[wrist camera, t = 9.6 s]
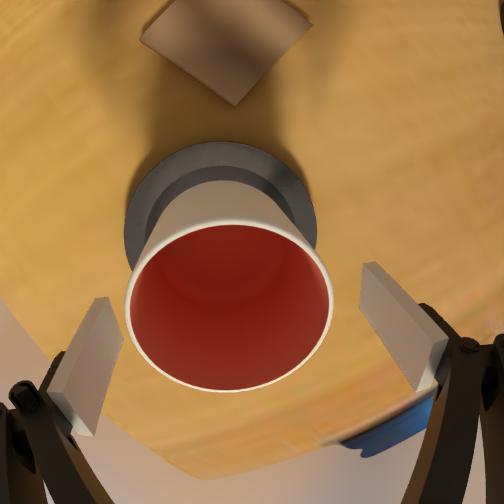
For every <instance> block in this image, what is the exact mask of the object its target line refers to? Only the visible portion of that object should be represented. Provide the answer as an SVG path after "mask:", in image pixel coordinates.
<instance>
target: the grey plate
mask: <svg viewBox="0 0 504 504" xmlns="http://www.w3.org/2000/svg"><path fill="white" fill-rule="evenodd" d="M220 180H225V181H235V182H240V183H244V184H247V185H250V186H252V187H254V188H256V189H258V190H260V191H262V192H263V193H265V194H266V195H267V196H269V197H270V198H271V199H272V200H273V201H274V202H275V203H276V204H277V205H278V206H279V208H280V209H281V210H282V211H283V212H284V214H285V215H286V216H287V217H288V218H289V220H290V221H291V222H292V223H293V224H294V226H295V227H296V228H297V229H298V230H299V232H300V233H301V234H302V235H303V237H304V238H305V239H306V240H307V241H308V243H309V244H310V245H311V246H312V248H313V249H314V250H315V246H316V239H317V225H316V217H315V212H314V208H313V205H312V202H311V200H310V197H309V195H308V193H307V191H306V189H305V187H304V186H303V184H302V183H301V181H300V180H299V179H298V177H297V176H296V175H295V174H294V173H293V172H292V171H291V170H290V169H289V168H288V167H287V166H286V165H285V164H284V163H282V162H281V161H280V160H278V159H277V158H276V157H274V156H272V155H270V154H268V153H267V152H265V151H263V150H260V149H258V148H255V147H252V146H250V145H246V144H242V143H237V142H229V141H213V142H205V143H200V144H195V145H192V146H190V147H187V148H184V149H182V150H180V151H178V152H176V153H174V154H172V155H170V156H169V157H168V158H166V159H165V160H163V161H162V162H161V163H159V164H158V165H157V166H156V167H155V168H154V169H152V170H151V171H150V172H149V173H148V174H147V176H146V177H145V178H144V179H143V181H142V182H141V183H140V184H139V186H138V188H137V190H136V191H135V193H134V195H133V197H132V199H131V202H130V204H129V207H128V210H127V214H126V218H125V226H124V245H125V250H126V256H127V259H128V262H129V265H130V268H131V270H132V272H133V270H134V268H135V266H136V264H137V262H138V259H139V257H140V255H141V253H142V251H143V249H144V247H145V245H146V243H147V241H148V239H149V237H150V235H151V233H152V231H153V229H154V227H155V225H156V223H157V221H158V220H159V218H160V216H161V214H162V213H163V211H164V210H165V208H166V207H167V206H168V205H169V204H170V203H171V202H172V201H173V200H174V199H175V198H176V197H177V196H178V195H180V194H181V193H183V192H184V191H186V190H188V189H189V188H191V187H194V186H196V185H199V184H202V183H206V182H210V181H220Z"/></svg>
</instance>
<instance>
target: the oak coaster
mask: <svg viewBox="0 0 504 504" xmlns="http://www.w3.org/2000/svg"><path fill="white" fill-rule="evenodd" d="M312 26H313V24H312V23H310V22H309V21H308V20H307V19H306V18H304V17H303V16H302V15H301V14H299V13H298V12H297V11H295V10H294V9H293V8H292V7H290V6H289V5H288V4H286V3H285V2H284V1H282V0H175V1H174V2H173V3H172V4H171V5H170V6H169V7H168V8H167V9H166V10H165V11H164V12H163V13H162V14H161V15H160V16H159V17H158V18H157V19H156V20H155V22H154V23H153V24H152V25H151V26H150V27H149V28H148V29H147V30H146V31H145V32H144V34H143V35H142V36H141V37H140V38H139V40H140V41H141V43H143V44H144V45H146V46H147V47H149V48H151V49H152V50H154V51H155V52H157V53H158V54H160V55H161V56H163V57H164V58H166V59H167V60H169V61H170V62H172V63H173V64H175V65H176V66H178V67H179V68H181V69H182V70H184V71H185V72H187V73H188V74H189V75H191V76H192V77H194V78H195V79H197V80H198V81H199V82H201V83H202V84H204V85H205V86H206V87H208V88H209V89H210V90H212V91H213V92H214V93H216V94H217V95H219V96H220V97H221V98H223V99H224V100H225V101H226V102H228V103H229V104H230V105H232V106H233V107H235V106H236V105H237V104H238V103H239V102H240V100H241V99H242V98H243V97H244V96H245V95H246V94H247V93H248V91H249V90H250V89H251V88H252V87H253V86H254V85H255V84H256V83H257V82H258V80H259V79H260V78H261V77H262V76H263V75H264V74H265V73H266V72H267V71H268V70H269V69H270V68H271V67H272V66H273V64H274V63H275V62H276V61H277V60H278V59H279V58H280V57H281V56H282V55H283V54H284V53H285V52H286V51H287V50H288V49H289V48H290V47H291V46H292V45H293V44H294V43H295V42H296V41H297V40H298V39H299V38H300V37H301V36H302V35H303V34H304V33H305V32H306V31H308V30H309V29H310V28H311V27H312Z"/></svg>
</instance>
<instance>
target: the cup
mask: <svg viewBox="0 0 504 504" xmlns="http://www.w3.org/2000/svg"><path fill="white" fill-rule="evenodd" d="M333 307H334V294H333V287H332V282H331V279H330V275H329V273H328V271H327V269H326V266H325V264H324V263H323V261H322V260H321V258H320V256H319V255H318V254H317V253H316V251H315V250H314V249H313V248H312V246H311V245H310V244H309V243H308V241H307V240H306V239H305V238H304V237H303V235H302V234H301V233H300V232H299V230H298V229H297V228H296V227H295V226H294V224H293V223H292V222H291V221H290V220H289V218H288V217H287V216H286V215H285V214H284V212H283V211H282V210H281V209H280V208H279V206H278V205H277V204H276V203H275V202H274V201H273V200H272V199H271V198H270V197H269V196H267V195H266V194H265V193H263V192H262V191H260V190H258V189H256V188H254V187H252V186H250V185H247V184H244V183H240V182H235V181H225V180H220V181H210V182H206V183H202V184H199V185H196V186H194V187H191V188H189V189H188V190H186V191H184V192H183V193H181V194H180V195H178V196H177V197H176V198H175V199H174V200H173V201H172V202H171V203H170V204H169V205H168V206H167V207H166V208H165V210H164V211H163V213H162V214H161V216H160V218H159V220H158V221H157V223H156V225H155V227H154V229H153V231H152V233H151V235H150V237H149V239H148V241H147V243H146V245H145V247H144V249H143V251H142V253H141V255H140V257H139V259H138V262H137V264H136V266H135V268H134V270H133V272H132V274H131V276H130V279H129V282H128V285H127V288H126V294H125V302H124V309H125V319H126V324H127V328H128V331H129V334H130V336H131V338H132V340H133V342H134V344H135V346H136V347H137V349H138V351H139V352H140V353H141V354H142V356H143V357H144V358H145V359H146V360H147V361H148V362H149V363H150V364H151V365H152V366H153V367H154V368H155V369H157V370H158V371H159V372H160V373H162V374H163V375H165V376H167V377H168V378H170V379H172V380H174V381H176V382H178V383H180V384H183V385H185V386H188V387H192V388H195V389H199V390H204V391H211V392H240V391H247V390H252V389H256V388H260V387H263V386H266V385H269V384H271V383H274V382H276V381H278V380H280V379H282V378H284V377H286V376H287V375H289V374H291V373H292V372H293V371H295V370H296V369H298V368H299V367H300V366H301V365H303V364H304V363H305V362H306V361H307V360H308V359H309V358H310V357H311V356H312V355H313V353H314V352H315V351H316V350H317V348H318V347H319V345H320V344H321V342H322V341H323V339H324V337H325V335H326V333H327V331H328V328H329V326H330V323H331V319H332V315H333Z"/></svg>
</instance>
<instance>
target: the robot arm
mask: <svg viewBox="0 0 504 504" xmlns="http://www.w3.org/2000/svg"><path fill="white" fill-rule="evenodd" d="M502 25H503V30H504V3H503V5H502ZM359 309H360V310H361V312H362V313H363V315H364V316H365V318H366V319H367V320H368V322H369V323H370V325H371V326H372V328H373V329H374V331H375V332H376V333H377V335H378V336H379V338H380V339H381V341H382V342H383V344H384V345H385V347H386V348H387V350H388V351H389V353H390V354H391V356H392V357H393V359H394V360H395V362H396V363H397V365H398V366H399V368H400V369H401V371H402V372H403V374H404V375H405V377H406V379H407V380H408V382H409V383H410V385H411V386H412V388H413V389H414V391H415V393H416V392H419V391H422V390H424V389H427V388H429V387H430V386H431V384H432V381H433V379H434V378H435V379H436V380H437V382H438V386H437V388H436V390H435V392H434V394H433V397H432V399H431V400H434V401H433V405H432V409H431V414H430V418H429V421H428V425H427V429H426V433H425V436H424V440H423V443H422V446H421V450H420V453H419V456H418V459H417V462H416V465H415V468H414V471H413V473H412V476H411V479H410V482H409V484H408V487H407V489H406V492H405V494H404V497H403V499H402V502H401V504H462V502H463V498H464V494H465V490H466V487H467V482H468V478H469V474H470V469H471V464H472V459H473V454H474V448H475V442H476V435H477V428H478V419H479V415H480V422H481V429H482V438H483V447H484V459H485V474H486V475H485V476H486V504H504V334H499V335H497V336H496V338H495V340H494V342H493V344H488V345H480V344H479V343H478V342H477V341H476V340H474V339H472V338H469V337H462V338H461V337H460V336H459V335H458V334H457V333H456V332H455V331H454V330H453V328H452V327H451V326H450V325H449V324H448V323H447V322H446V321H444V319H443V318H442V317H441V316H440V315H439V314H438V313H437V312H436V311H435V310H434V309H433V308H432V307H430V306H428V305H427V304H425V303H420V304H417V303H416V302H415V301H414V300H413V299H412V298H411V297H410V296H409V295H408V293H407V292H406V291H405V290H404V289H403V288H402V287H401V286H400V285H399V284H398V283H397V282H396V281H395V280H394V279H393V278H392V277H391V276H390V275H389V274H388V273H387V272H386V271H385V270H384V269H383V268H382V267H381V266H380V265H378V264H377V263H376V262H370V263H364V264H363V267H362V280H361V291H360V301H359ZM123 340H124V338H123V335H122V333H121V330H120V328H119V325H118V323H117V320H116V317H115V315H114V312H113V309H112V306H111V304H110V301H109V298H108V297H101V298H95V300H94V302H93V303H92V305H91V307H90V308H89V310H88V312H87V314H86V315H85V317H84V319H83V321H82V323H81V324H80V326H79V328H78V330H77V332H76V334H75V335H74V337H73V339H72V341H71V343H70V345H69V347H68V349H67V351H61V352H60V353H59V354H58V355H57V356H56V357H55V358H54V360H53V362H52V364H51V368H49V370H48V372H47V374H46V376H45V378H44V380H43V382H42V384H41V386H40V388H39V390H37V389H36V387H35V386H34V385H33V383H32V382H31V381H28V380H26V381H24V380H23V381H21V382H18V383H17V384H15V385H14V386H13V387H12V388H11V390H10V392H9V399H10V401H11V402H12V403H13V405H14V406H15V407H16V409H11V410H8V409H7V407H6V406H5V405H4V404H3V403H1V402H0V504H48V502H47V498H46V493H45V488H44V483H43V480H44V482H45V484H46V486H47V488H48V491H49V493H50V495H51V497H52V499H53V501H54V503H55V504H114V502H113V501H112V500H111V498H110V497H109V495H108V494H107V492H106V491H105V489H104V488H103V486H102V485H101V483H100V482H99V480H98V479H97V477H96V476H95V474H94V472H93V471H92V469H91V467H90V466H89V464H88V462H87V461H86V459H85V457H84V455H83V454H82V452H81V450H80V448H79V447H78V445H77V443H76V441H75V439H74V438H73V436H72V435H71V434H70V433H71V430H72V427H73V428H74V429H75V430H76V432H77V433H78V434H79V435H85V436H94V435H95V431H96V427H97V424H98V420H99V416H100V413H101V409H102V406H103V402H104V399H105V396H106V392H107V389H108V386H109V382H110V379H111V376H112V373H113V370H114V367H115V364H116V361H117V358H118V355H119V352H120V349H121V346H122V343H123Z"/></svg>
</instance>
